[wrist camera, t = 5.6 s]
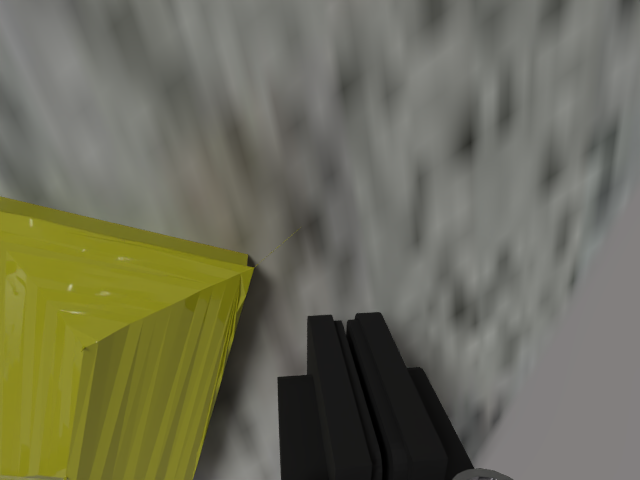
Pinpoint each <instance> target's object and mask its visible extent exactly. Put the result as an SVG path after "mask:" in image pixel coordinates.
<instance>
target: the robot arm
mask: <svg viewBox="0 0 640 480" xmlns="http://www.w3.org/2000/svg"><path fill="white" fill-rule="evenodd" d="M278 411H279V439H280V465H281V480H513V479H511V478H510V477H508V476H506V475H503V474H501V473H498V472H496V471H493V470H487V469H481V468H478V469H474V467H473V465H472V463H471V461H470V459H469V457H468V455H467V453H466V451H465V449H464V448H463V446H462V444H461V442H460V440H459V438H458V436H457V434H456V432H455V430H454V428H453V426H452V424H451V422H450V420H449V418H448V416H447V415H446V413H445V411H444V409H443V407H442V405H441V403H440V401H439V399H438V397H437V395H436V393H435V391H434V389H433V387H432V385H431V384H430V382H429V380H428V378H427V376H426V374H425V372H424V371H423V369H421V368H420V367H416V368H406V366H405V363H404V361H403V359H402V357H401V355H400V353H399V351H398V348H397V346H396V344H395V342H394V340H393V338H392V335H391V333H390V331H389V329H388V327H387V325H386V323H385V320H384V318H383V316H382V314H381V313H380V312H374V313H357V314H356V316H355V320H348V321H347V332H346V334H345V331H344V327H343V324H342V321H334V320H333V317H332V315H317V316H308V320H307V375H301V376H286V377H278Z"/></svg>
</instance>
